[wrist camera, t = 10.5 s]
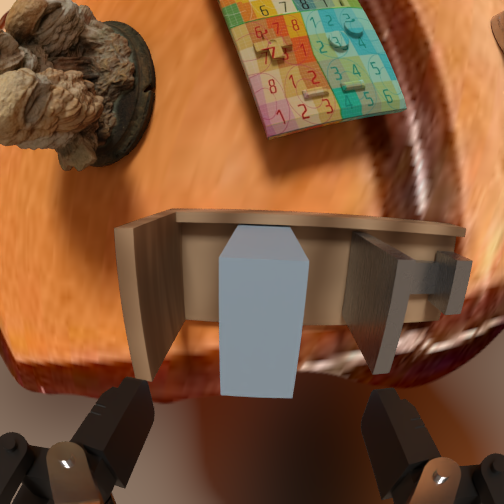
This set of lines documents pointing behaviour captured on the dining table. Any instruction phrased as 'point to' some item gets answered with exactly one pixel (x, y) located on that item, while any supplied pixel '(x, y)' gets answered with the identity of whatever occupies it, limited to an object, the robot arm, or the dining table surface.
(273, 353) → the pale blue block
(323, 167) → the dining table surface
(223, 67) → the dining table surface
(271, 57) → the puzzle game
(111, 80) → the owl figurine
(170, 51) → the dining table surface
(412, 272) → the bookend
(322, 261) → the shelf
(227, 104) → the dining table surface
